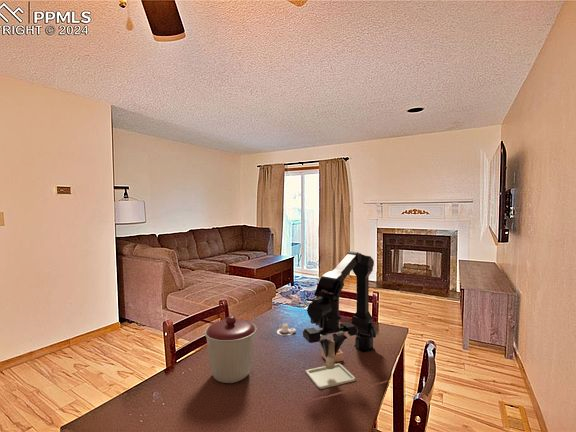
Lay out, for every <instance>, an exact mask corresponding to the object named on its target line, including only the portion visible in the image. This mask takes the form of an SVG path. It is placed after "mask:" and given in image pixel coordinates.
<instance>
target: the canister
mask: <svg viewBox="0 0 576 432" xmlns="http://www.w3.org/2000/svg"><path fill="white" fill-rule="evenodd" d="M257 329H258V328H257V325H255V324H254V323H253V322H250V321H249V320H246V319H242V318H236V317H235V316H233V315H228V316H227V317H226V318H225V319H222V320H218V321H216V322H213V323H212V324H210V325H208V326H207V327H206V328H205V329H204V333H203V334H204V336H205V337H206V343H207V351H208V353H207V354H208V359H209V367H210V372H211V375H212V377H213V378H214V380H216V381H217V382H219V383H225V384H234V383H237V382H239V381H242V380H244V379H246V378H247V376H248V375H249V373H250V371H251V368H252V360H253V353H254V352H253V351H254V343H255V334H256V332H257Z"/></svg>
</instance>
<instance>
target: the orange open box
mask: <svg viewBox="0 0 576 432" xmlns="http://www.w3.org/2000/svg"><path fill="white" fill-rule="evenodd" d="M321 357H322V358H323V359H324V360H325V361H326V357H325V355H324V352H323V349H322V348H321ZM343 361H344V352H343V351H342V350H341V349H340V348H339V350H338V352H337V354H336V355H335V363H340V362H343Z"/></svg>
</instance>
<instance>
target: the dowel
mask: <svg viewBox="0 0 576 432" xmlns="http://www.w3.org/2000/svg"><path fill="white" fill-rule="evenodd" d="M328 340H329V347H328V356H327V357H326V360H325V366H326V368H327V369H334V368H335V364H336V362H335V341H333V339H328Z"/></svg>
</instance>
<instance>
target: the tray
mask: <svg viewBox="0 0 576 432" xmlns="http://www.w3.org/2000/svg"><path fill="white" fill-rule="evenodd" d="M304 372H305V374H306V375H307V376H308V377H309V379H310V380H311V381H312V382H313V383H314V386H316V387H317V388H318V390H323V389H327V388H330V387H335V386H336V387H337V386H339V385H340V386H341V385H342V384H343V385H344V384H347V383H352V382H356V381H357V378H356V377H355V375H353V374H352V373H351V372H350V371H349V370H348V369H346V367H345V366H344V365H342V364H341V363H340V362H336V363H335V368H334V369H327V368H326V365H324V366H320V367H319V366H318V367H314V368H310V369H305V371H304Z"/></svg>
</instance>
